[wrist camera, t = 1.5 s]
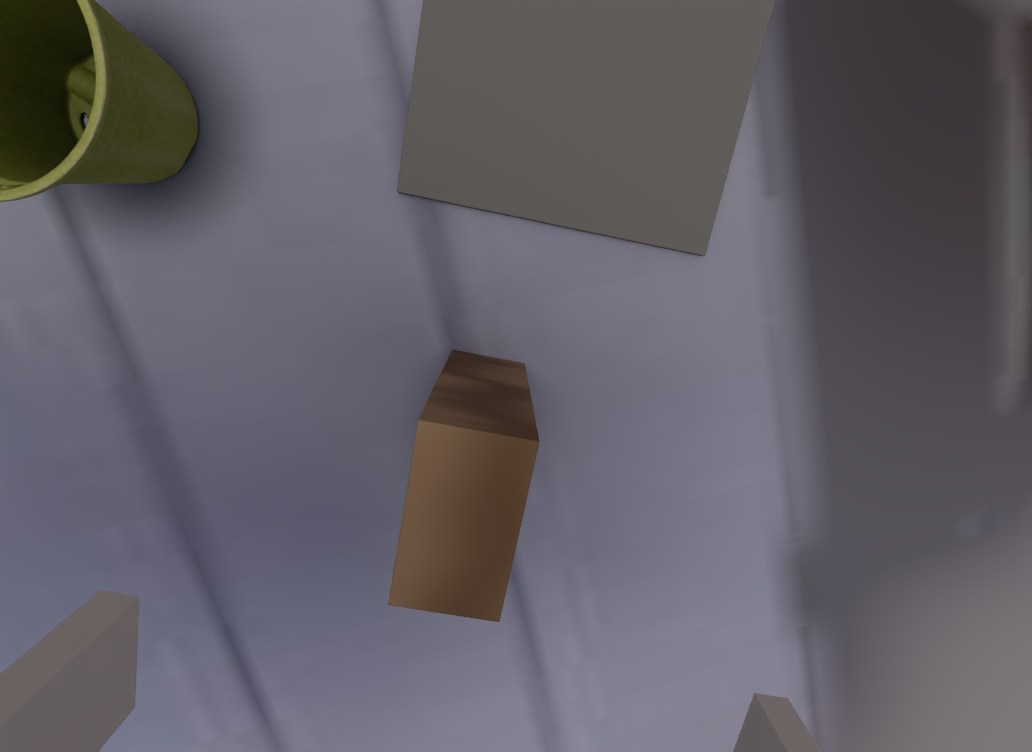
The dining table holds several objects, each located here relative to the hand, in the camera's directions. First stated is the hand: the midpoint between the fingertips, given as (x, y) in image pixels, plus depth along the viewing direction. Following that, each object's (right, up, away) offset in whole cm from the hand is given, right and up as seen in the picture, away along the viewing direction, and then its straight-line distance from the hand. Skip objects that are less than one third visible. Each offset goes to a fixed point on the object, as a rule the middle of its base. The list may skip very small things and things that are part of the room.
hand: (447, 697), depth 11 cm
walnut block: (-1, +5, +18) cm, 19 cm away
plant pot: (-17, +20, +14) cm, 30 cm away
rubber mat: (+5, +21, +14) cm, 26 cm away
